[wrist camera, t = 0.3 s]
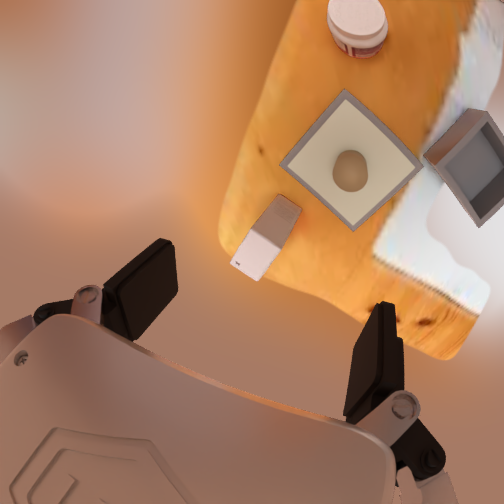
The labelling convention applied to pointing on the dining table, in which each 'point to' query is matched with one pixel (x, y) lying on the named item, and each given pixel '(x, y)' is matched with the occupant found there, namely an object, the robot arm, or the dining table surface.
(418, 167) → the mat
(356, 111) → the lid
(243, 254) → the skincare box
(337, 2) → the pill bottle
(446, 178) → the open grey box
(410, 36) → the dining table surface
